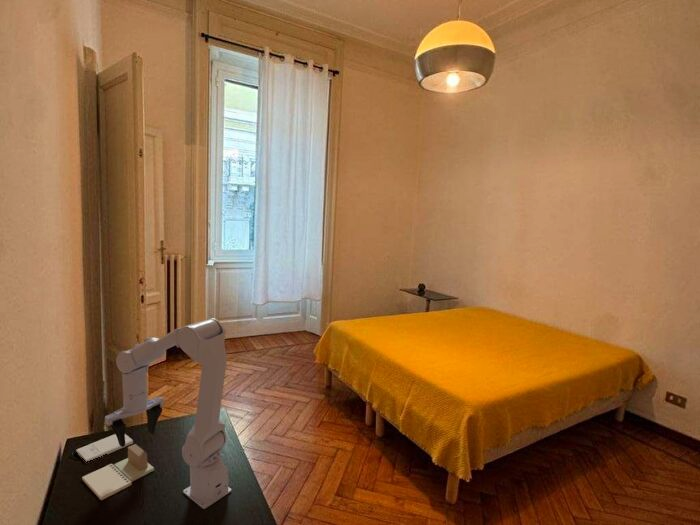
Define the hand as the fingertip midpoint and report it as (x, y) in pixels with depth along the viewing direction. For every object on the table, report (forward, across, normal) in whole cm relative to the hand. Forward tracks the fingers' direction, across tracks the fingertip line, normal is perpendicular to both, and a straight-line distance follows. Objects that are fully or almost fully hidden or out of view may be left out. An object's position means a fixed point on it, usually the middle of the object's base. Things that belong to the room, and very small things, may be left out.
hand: (136, 438), depth 103 cm
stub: (+8, +1, 0) cm, 8 cm away
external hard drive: (+9, +2, -17) cm, 19 cm away
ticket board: (+8, +8, 0) cm, 11 cm away
